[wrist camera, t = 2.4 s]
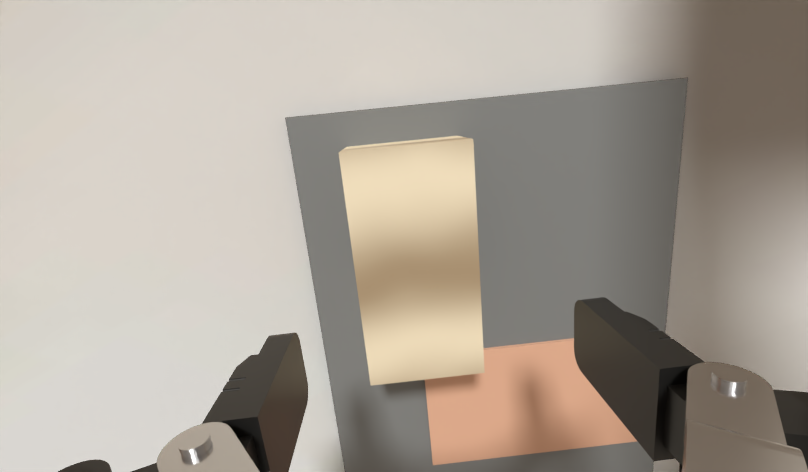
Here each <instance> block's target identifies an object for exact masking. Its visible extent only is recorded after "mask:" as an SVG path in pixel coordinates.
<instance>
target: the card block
mask: <svg viewBox="0 0 808 472" xmlns="http://www.w3.org/2000/svg"><path fill="white" fill-rule="evenodd" d="M339 160H340V167H341V174H342V182H343V189H344V196H345V203H346V211H347V218H348V225H349V232H350V240H351V247H352V254H353V261H354V269H355V276H356V283H357V290H358V298H359V305H360V312H361V319H362V327H363V334H364V341H365V348H366V356H367V363H368V370H369V377H370V385H371V386H372V385H381V384H390V383H399V382H408V381H417V380H425V379H434V378H443V377H452V376H461V375H470V374H479V373H485V371H484V350H483V329H482V308H481V287H480V267H479V246H478V225H477V204H476V183H475V162H474V142H473V139H471V138H466V137H462V136H448V137H438V138H428V139H418V140H408V141H398V142H389V143H379V144H369V145H359V146H349V147H346V148H344V149H343V150H341V151H340V152H339Z"/></svg>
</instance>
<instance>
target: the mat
mask: <svg viewBox="0 0 808 472" xmlns="http://www.w3.org/2000/svg"><path fill="white" fill-rule="evenodd" d="M687 83H688V78H680V79H670V80H659V81H649V82H639V83H629V84H619V85H609V86H599V87H589V88H579V89H569V90H559V91H549V92H539V93H529V94H519V95H508V96H498V97H488V98H478V99H468V100H458V101H448V102H438V103H428V104H418V105H408V106H398V107H388V108H378V109H368V110H357V111H347V112H337V113H327V114H317V115H307V116H297V117H287V118H285V119H286V125H287V131H288V137H289V143H290V148H291V154H292V160H293V166H294V172H295V178H296V184H297V190H298V196H299V202H300V208H301V214H302V219H303V225H304V231H305V237H306V243H307V249H308V255H309V261H310V267H311V273H312V279H313V284H314V290H315V296H316V302H317V308H318V314H319V320H320V326H321V332H322V338H323V344H324V349H325V355H326V361H327V367H328V373H329V379H330V385H331V391H332V397H333V403H334V409H335V414H336V420H337V426H338V432H339V438H340V444H341V450H342V456H343V462H344V468H345V472H653V463H654V461H653V460H652V459H651V457H650V456H649V455H648V454H647V452H646V451H645V450H644V449H643V448H642V446H641V445H640V444H639V443H638V441H637V440H636V439H635V438H634V436H633V435H632V434H631V433H630V431H629V430H628V429H627V428H626V427H625V425H624V424H623V423H622V422H621V420H620V419H619V418H618V417H617V415H616V414H615V413H614V412H613V410H612V409H611V408H610V407H609V406H608V404H607V403H606V402H605V401H604V399H603V398H602V397H601V396H600V394H599V393H598V392H597V391H596V390H595V388H594V387H593V386H592V385H591V383H590V382H589V381H588V380H587V378H586V377H585V376H584V375H583V373H582V372H581V371H580V369H579V367H578V365H577V362H576V359H575V354H574V307H575V303H576V301H577V300H583V299H592V298H600V297H605V298H607V299H608V300H610V301H611V302H612V303H614V304H615V305H616V306H618V307H619V308H620V309H621V310H623V311H624V312H629V313H632V314H634V315H637V316H639V317H642V318H644V319H646V320H648V321H649V322H650V323H652V324H653V325H654V326H656V327H657V328H659V331H663V332H664V333H665V329H666V318H667V307H668V296H669V284H670V273H671V262H672V251H673V240H674V228H675V217H676V206H677V195H678V184H679V173H680V161H681V150H682V139H683V128H684V117H685V105H686V94H687ZM448 136H462V137H466V138H471V139H473V142H474V162H475V183H476V204H477V225H478V246H479V267H480V287H481V308H482V329H483V350H484V371H485V373H479V374H470V375H461V376H452V377H443V378H434V379H425V380H417V381H408V382H399V383H390V384H381V385H372V386H371V385H370V377H369V370H368V363H367V356H366V348H365V341H364V334H363V327H362V319H361V312H360V305H359V298H358V290H357V283H356V276H355V269H354V261H353V254H352V247H351V240H350V232H349V225H348V218H347V211H346V203H345V196H344V189H343V182H342V174H341V167H340V160H339V152H340V151H341V150H343V149H344V148H346V147H349V146H359V145H369V144H379V143H389V142H398V141H408V140H418V139H428V138H438V137H448Z"/></svg>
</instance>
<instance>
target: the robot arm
mask: <svg viewBox="0 0 808 472" xmlns="http://www.w3.org/2000/svg"><path fill="white" fill-rule="evenodd" d="M574 354H575V359H576V362H577V365H578V367H579V369H580V371H581V372H582V373H583V375H584V376H585V377H586V378H587V380H588V381H589V382H590V383H591V385H592V386H593V387H594V388H595V390H596V391H597V392H598V393H599V394H600V396H601V397H602V398H603V399H604V401H605V402H606V403H607V404H608V406H609V407H610V408H611V409H612V410H613V412H614V413H615V414H616V415H617V417H618V418H619V419H620V420H621V422H622V423H623V424H624V425H625V427H626V428H627V429H628V430H629V431H630V433H631V434H632V435H633V436H634V438H635V439H636V440H637V441H638V443H639V444H640V445H641V446H642V448H643V449H644V450H645V451H646V452H647V454H648V455H649V456H650V457H651V459H652V460H653V461H658V460H666V459H674V458H676V459H677V460H678V462H679V463H680V466H679V472H808V392H795V391H783V390H773V389H772V387H771V385H770V384H769V383H768V382H767V381H766V380H765V379H763V378H762V377H760V376H759V375H757V374H755V373H753V372H751V371H749V370H746V369H744V368H741V367H737V366H734V365H730V364H725V363H717V362H704V361H702V360H701V359H700V358H698V357H697V356H696V355H694V354H693V353H691V352H690V351H689V350H687V349H686V348H685V347H683V346H682V345H680V344H679V343H678V342H676V341H675V340H674V339H670V337H669V336H668V335H667V334H665V333H664V332H663V331H659V328H657V327H656V326H654V325H653V324H652V323H650V322H649V321H648V320H646V319H644V318H642V317H639V316H637V315H634V314H632V313H629V312H624V311H623V310H621V309H620V308H619V307H618V306H616V305H615V304H614V303H612V302H611V301H610V300H608V299H607V298H605V297H600V298H592V299H583V300H577V301H576V303H575V307H574ZM307 400H308V383H307V377H306V372H305V367H304V361H303V356H302V351H301V345H300V340H299V337H298V335H297V333H289V334H280V335H272V336H269V337H268V338H267V340H266V342H265V344H264V345H263V347H262V349H261V351H260V353H259V355H251V356H249V357H248V358H247V359H246V360H245V361H243V362H242V363H241V364H240V365H238V366H237V367H236V369H235V371H234V372H233V374H232V375H231V377H230V379H229V382H227V384H226V385H225V387H224V389H223V392H221V393H220V395H219V397H218V398H217V400H216V402H215V403H214V405H213V407H212V408H211V410H210V411H209V413H208V415H207V416H206V418H205V420H204V421H203V423H202V424H200V425H197V426H194V427H192V428H190V429H188V430H186V431H184V432H182V433H180V434H179V435H177V436H176V437H175V438H173V439H172V440H171V441H170V442H169V443H168V444H167V445H166V446H165V447H164V448H163V449H162V451H161V452H160V454H159V456H158V458H157V463H155V464H152V465H149V466H147V467H144V468H141V469H138V470H135V471H132V472H288V471H289V467H290V464H291V460H292V456H293V453H294V449H295V445H296V442H297V438H298V435H299V431H300V427H301V424H302V420H303V416H304V413H305V409H306V406H307ZM58 472H112V471H111V468H110V465H109V464H108V463H107V462H105V461H103V460H88V461H84V462H80V463H77V464H74V465H71V466H69V467H67V468H64V469H62V470H60V471H58Z"/></svg>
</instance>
